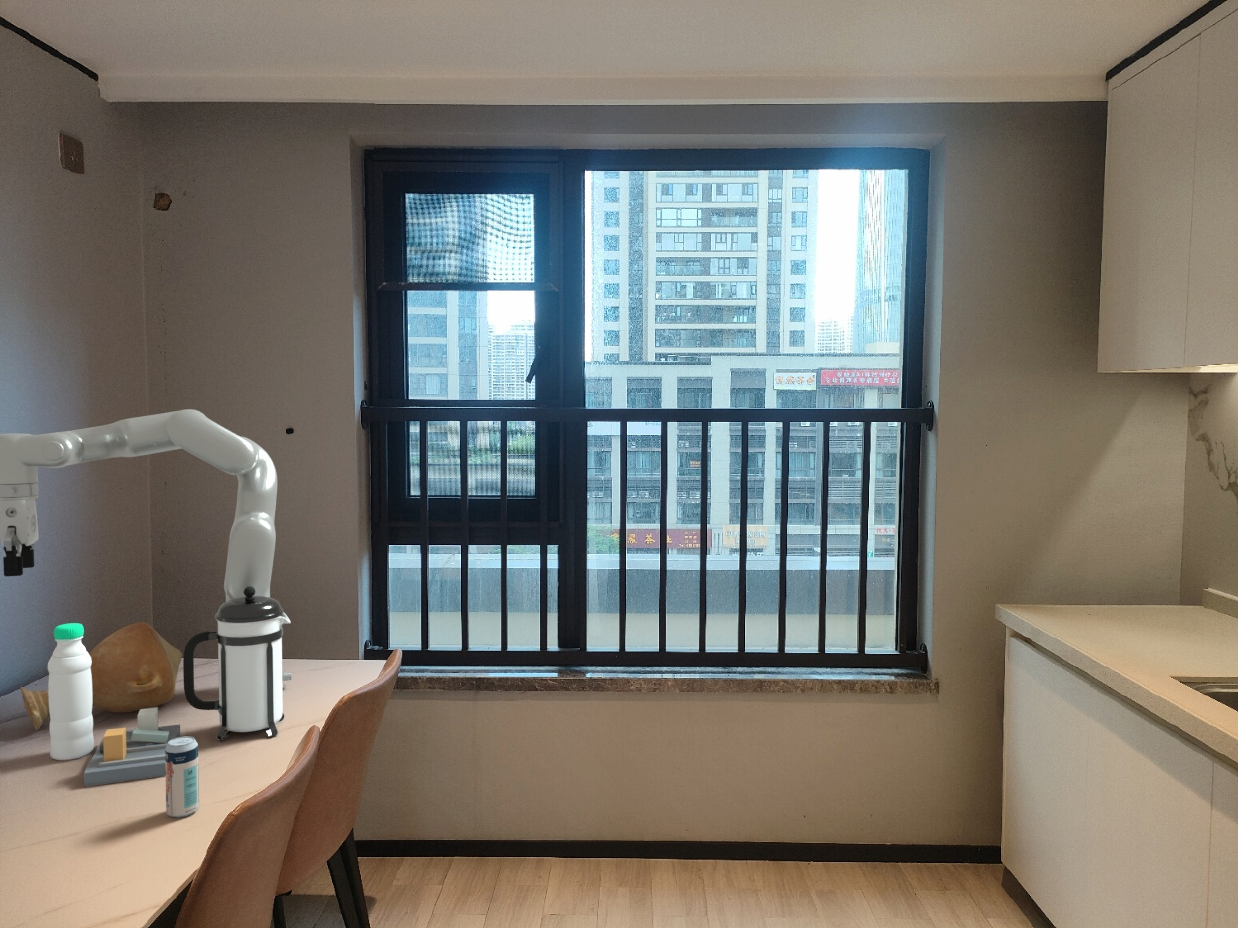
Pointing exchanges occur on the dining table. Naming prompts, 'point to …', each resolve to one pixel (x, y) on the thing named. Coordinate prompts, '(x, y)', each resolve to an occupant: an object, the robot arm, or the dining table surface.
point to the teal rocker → (150, 735)
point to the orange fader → (114, 744)
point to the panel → (130, 761)
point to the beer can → (182, 776)
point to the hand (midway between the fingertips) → (19, 571)
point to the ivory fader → (148, 719)
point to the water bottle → (70, 695)
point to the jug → (122, 674)
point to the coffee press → (244, 665)
